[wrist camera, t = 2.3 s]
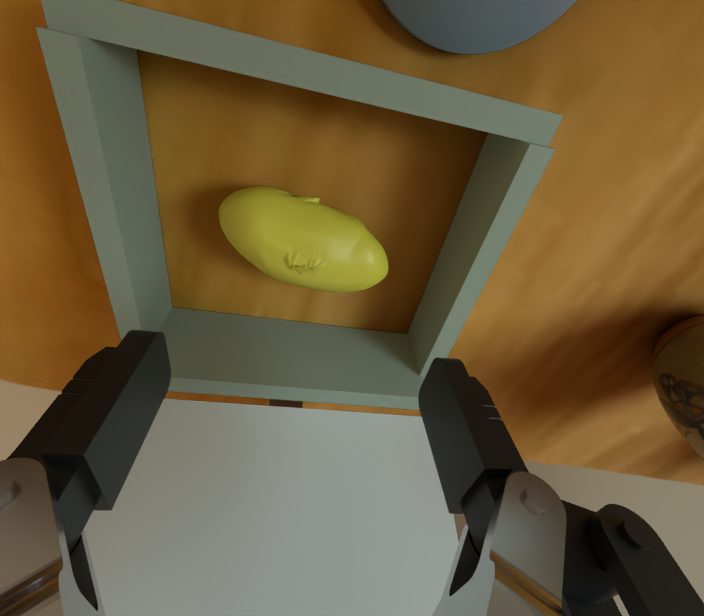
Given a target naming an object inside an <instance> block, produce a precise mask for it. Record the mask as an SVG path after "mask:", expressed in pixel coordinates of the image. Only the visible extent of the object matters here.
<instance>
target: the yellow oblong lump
mask: <svg viewBox="0 0 704 616" xmlns="http://www.w3.org/2000/svg"><path fill="white" fill-rule="evenodd" d="M319 198H320V197H319ZM319 198H307V197H302V196H298V195H294V194H291V193H289V192H286V191H283V190H280V189H277V188H273V187H267V186H255V187H249V188H244V189H240V190H237V191H235V192H233V193H231V194H230V195H228V196H227V197H226V198H225V200H224V201H223V202H222V203H221V205H220V208H219V212H218V215H219V222H220V225H221V229H222V231H223V232H224V234H225V236H226V237H227V239H228V240H229V242H230V243H231V244H232V245H233V247H234V248H235V249H236V250H237V251H238V252H239V253H240V254H241V255H242V256H243V257H244V258H246V259H247V260H248V261H249V262H250V263H252V264H253V265H254V266H255V267H257V268H258V269H259V270H261V271H262V272H263V273H265V274H267V275H269V276H271V277H273V278H275V279H277V280H280V281H283V282H286V283H289V284H292V285H296V286H300V287H306V288H312V289H317V290H323V291H330V292H354V291H361V290H365V289H368V288H370V287H372V286H374V285H376V284H377V283H379V282H380V281H381V280H383V279H384V278H385V277H386V275H387V273H388V260H387V256H386V253H385V251H384V249H383V247H382V246H381V244H380V243H379V242H378V241H377V239H376V238H375V237H374V236H373V235H372V234H371V233H370V232H369V230H368V229H367V228H366V227H365V225H364V224H363V223H362V221H360V220H359V219H358V218H356V217H355V216H353V215H351V214H348V213H346V212H343V211H340V210H337V209H334V208H331V207H329V206H326V205H322V204H320V203H319Z"/></svg>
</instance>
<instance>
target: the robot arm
mask: <svg viewBox="0 0 704 616" xmlns="http://www.w3.org/2000/svg"><path fill="white" fill-rule="evenodd" d="M170 380H171V367H170V361H169V356H168V350H167V345H166V339H165V335H164V333H162V332H155V331H144V330H130V331H129V332H128V333H127V334H126V335H125V337H124V338H123V340H122V341H121V342H120V344H119V345H118V346H117V348H115V347H105V348H104V349H102V350H101V351H99V352H98V353H96V354H95V355H93V356H92V357H90V358H89V359H87V360H86V361H85V362H84V364H83V365H82V366H81V367H80V369H79V370H78V371H77V373H76V374H75V375H74V376H73V380H70V381H69V383H68V384H67V385H66V386H65V388H64V389H63V390H62V394H61V395H58V397H57V398H56V399H55V400H54V402H53V403H52V404H51V405H50V407H49V408H48V409H47V410H46V412H45V413H44V414H43V415H42V417H41V418H40V419H39V420H38V422H37V423H36V424H35V426H34V427H33V428H32V429H31V431H30V432H29V433H28V434H27V436H26V437H25V438H24V439H23V441H22V442H21V443H20V444H19V446H18V447H17V448H16V449H15V451H14V452H13V453H12V454H11V455H10V456H9V457H8V458H7V459H6V460H3V461H0V616H106V615H105V611H104V608H103V604H102V600H101V596H100V592H99V588H98V584H97V580H96V576H95V572H94V567H93V563H92V559H91V555H90V551H89V547H88V543H87V539H86V535H85V531H84V527H85V526H86V524H87V522H88V520H89V518H90V516H91V514H92V512H93V510H108V511H111V510H112V508H113V506H114V504H115V502H116V500H117V498H118V495H119V493H120V491H121V489H122V487H123V485H124V483H125V481H126V478H127V476H128V474H129V472H130V470H131V468H132V466H133V464H134V461H135V459H136V457H137V455H138V453H139V451H140V449H141V447H142V444H143V442H144V440H145V438H146V436H147V434H148V432H149V430H150V427H151V425H152V423H153V421H154V419H155V417H156V415H157V412H158V410H159V408H160V406H161V404H162V402H163V400H164V398H165V395H166V393H167V391H168V388H169V385H170ZM418 403H419V409H420V412H421V416H422V419H423V423H424V426H425V430H426V434H427V437H428V441H429V444H430V448H431V451H432V455H433V458H434V462H435V465H436V469H437V472H438V476H439V479H440V483H441V486H442V490H443V493H444V497H445V500H446V504H447V508H448V511H449V514H464V515H465V519H466V522H467V524H466V525H465V527H464V529H463V532H462V535H461V538H460V542H459V545H458V548H457V551H456V554H455V557H454V560H453V564H452V567H451V570H450V573H449V576H448V579H447V582H446V586H445V589H444V592H443V595H442V597H441V600H440V602H439V604H438V606H437V608H436V609H435V611H434V613H433V615H432V616H622V615H621V613H620V611H619V609H618V607H617V605H616V603H615V601H614V599H613V597H614V596H616V595H618V594H619V596H620V598H621V600H622V602H623V604H624V605H625V608H626V609H627V611H628V613H629V615H630V616H704V603H703V602H702V600H701V599H700V597H699V596H698V594H697V593H696V591H695V590H694V588H693V587H692V585H691V584H690V582H689V581H688V579H687V578H686V576H685V575H684V573H683V572H682V570H681V569H680V567H679V566H678V564H677V563H676V562H675V560H674V558H673V557H672V555H671V554H670V553H669V551H668V550H667V548H666V546H665V545H664V543H663V542H662V540H661V539H660V538H659V536H658V535H657V533H656V532H655V531H654V530H653V529H652V527H651V526H650V525H649V524H648V523H647V522H646V521H645V520H643V519H642V518H641V517H640V516H638V515H637V514H636V513H634V512H633V511H631V510H629V509H627V508H625V507H623V506H620V505H616V504H608V505H605V506H604V507H603V508H601V509H600V510H599V511H597V512H593V511H590V510H588V509H585V508H582V507H580V506H577V505H574V504H571V503H569V502H566V501H563V500H561V499H560V498H559V496H558V495H557V493H556V492H555V491H554V490H553V489H552V488H551V487H550V486H549V485H548V484H547V483H546V482H545V481H543V480H542V479H541V478H539V477H537V476H536V475H533V474H531V473H529V472H528V470H527V468H526V466H525V464H524V462H523V460H522V458H521V456H520V454H519V452H518V450H517V448H516V446H515V444H514V442H513V440H512V438H511V436H510V434H509V432H508V431H507V429H506V427H505V425H504V423H503V421H501V417H500V415H499V413H498V411H497V409H496V408H495V407H494V406H495V405H494V403H493V401H492V399H491V397H490V395H489V393H488V391H487V390H486V389H485V388H484V386H483V385H482V384H481V383H480V382H479V381H478V380H477V379H476V378H475V377H469V375H468V373H467V371H466V369H465V367H464V364H463V363H462V361H461V360H459V359H450V358H438V357H436V358H435V359H434V360H433V361H432V363H431V366H430V368H429V370H428V372H427V374H426V376H425V379H424V381H423V383H422V385H421V387H420V390H419V396H418Z"/></svg>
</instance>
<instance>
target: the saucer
mask: <svg viewBox="0 0 704 616" xmlns="http://www.w3.org/2000/svg"><path fill="white" fill-rule="evenodd" d="M380 1H381V2H382V4H383V5H384V7H385V8H386V9H387V11H388V12H389V14H390V15H391V16H392V17H393V18H394V20H395V21H396V22H397V23H398V24H399V25H400V26H401V27H402V28H403V29H404V30H405V31H407V32H408V33H409V34H410V35H411V36H413V37H414V38H415V39H417V40H419V41H420V42H422V43H424V44H426V45H427V46H430V47H432V48H435V49H438V50H440V51H444V52H449V53H455V54H483V53H489V52H496V51H499V50H502V49H505V48H509V47H512V46H514V45H516V44H518V43H520V42H523V41H525V40H527V39H529V38H531V37H532V36H534V35H535V34H537V33H538V32H540V31H542V30H543V29H545V28H546V27H548V26H549V25H550V24H551V23H553V22H554V21H555V20H556V19H558V18H559V17H560V16H561V15H563V14H564V13H565V12H566V11H567V10H568V9H569V8H570V7H571V6H572V5H573V4H574V3H575V2H576V1H577V0H380Z"/></svg>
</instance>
